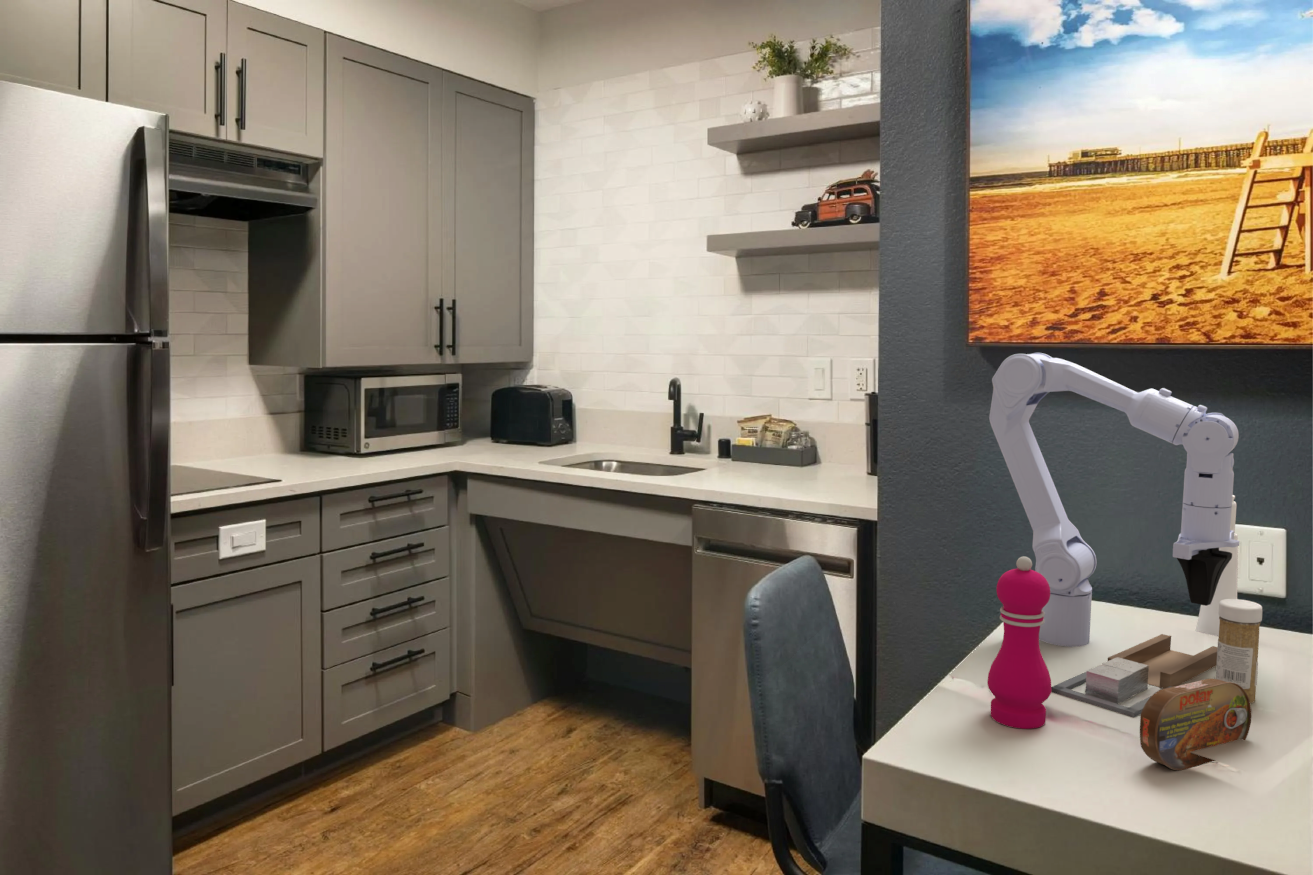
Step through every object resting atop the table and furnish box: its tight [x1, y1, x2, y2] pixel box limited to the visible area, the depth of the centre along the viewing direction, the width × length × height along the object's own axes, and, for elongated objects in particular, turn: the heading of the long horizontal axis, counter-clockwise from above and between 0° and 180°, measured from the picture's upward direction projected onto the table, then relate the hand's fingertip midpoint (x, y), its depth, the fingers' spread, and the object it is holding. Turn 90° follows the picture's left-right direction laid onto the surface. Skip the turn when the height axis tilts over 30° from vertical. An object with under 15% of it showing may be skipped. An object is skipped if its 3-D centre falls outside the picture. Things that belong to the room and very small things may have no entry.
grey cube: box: [1101, 657, 1149, 697], centre depth 121 cm, size 4×4×4 cm
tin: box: [1139, 678, 1252, 771], centre depth 104 cm, size 15×3×8 cm, turn 114°
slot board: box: [1107, 633, 1218, 689], centre depth 128 cm, size 8×16×4 cm, turn 129°
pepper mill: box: [987, 556, 1052, 730], centre depth 114 cm, size 7×7×20 cm
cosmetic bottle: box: [1194, 494, 1239, 638], centre depth 145 cm, size 6×6×22 cm
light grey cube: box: [1084, 663, 1134, 704], centre depth 118 cm, size 4×4×4 cm
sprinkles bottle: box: [1215, 598, 1263, 704], centre depth 118 cm, size 5×5×13 cm
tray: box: [1051, 670, 1172, 718], centre depth 120 cm, size 10×12×2 cm
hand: (1200, 603), depth 129 cm, fingers closed
